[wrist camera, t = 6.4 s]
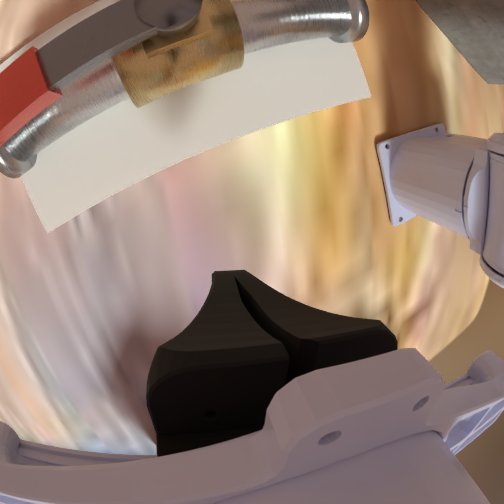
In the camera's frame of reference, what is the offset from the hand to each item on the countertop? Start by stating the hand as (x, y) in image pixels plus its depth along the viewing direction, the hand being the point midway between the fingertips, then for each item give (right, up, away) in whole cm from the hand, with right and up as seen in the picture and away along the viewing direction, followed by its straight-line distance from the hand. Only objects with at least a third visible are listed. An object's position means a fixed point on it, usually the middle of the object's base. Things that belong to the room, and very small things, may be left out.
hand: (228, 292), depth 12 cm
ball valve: (-4, +15, +4) cm, 16 cm away
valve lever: (-7, +9, -4) cm, 12 cm away
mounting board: (-4, +15, +4) cm, 16 cm away
